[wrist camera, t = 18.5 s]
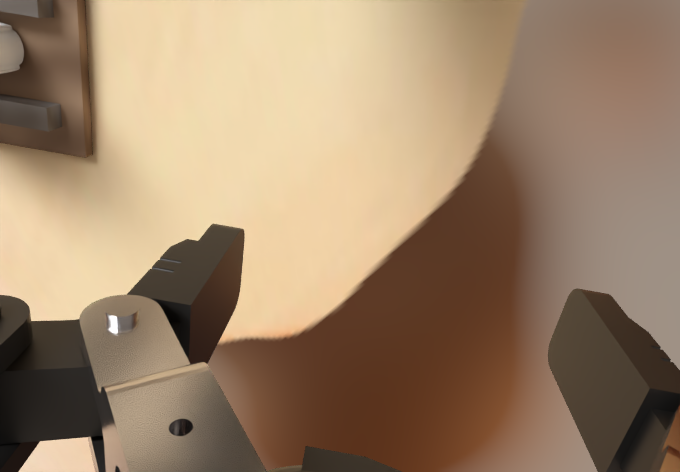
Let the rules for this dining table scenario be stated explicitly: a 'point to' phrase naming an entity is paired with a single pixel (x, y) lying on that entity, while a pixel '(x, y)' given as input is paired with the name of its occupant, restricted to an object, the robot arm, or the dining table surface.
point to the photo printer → (10, 49)
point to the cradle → (47, 78)
